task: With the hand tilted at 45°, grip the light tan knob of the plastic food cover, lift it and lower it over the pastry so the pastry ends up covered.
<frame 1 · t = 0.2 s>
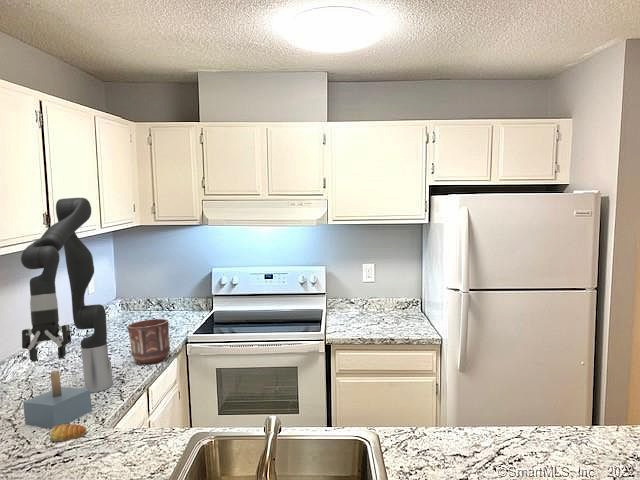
hand: (48, 359, 148), 22 cm above the counter, tool pointing down, fingers open, 8 cm apart
pastry: (67, 437, 142), on the counter
cover: (59, 417, 157), on the counter
pottery: (151, 361, 218), on the counter
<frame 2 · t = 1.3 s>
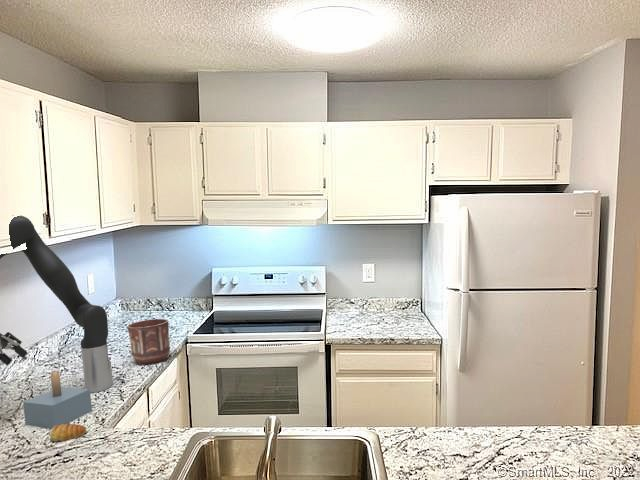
hand: (18, 359, 156), 21 cm above the counter, tool tilted 45°, fingers open, 8 cm apart
nothing on the counter moved.
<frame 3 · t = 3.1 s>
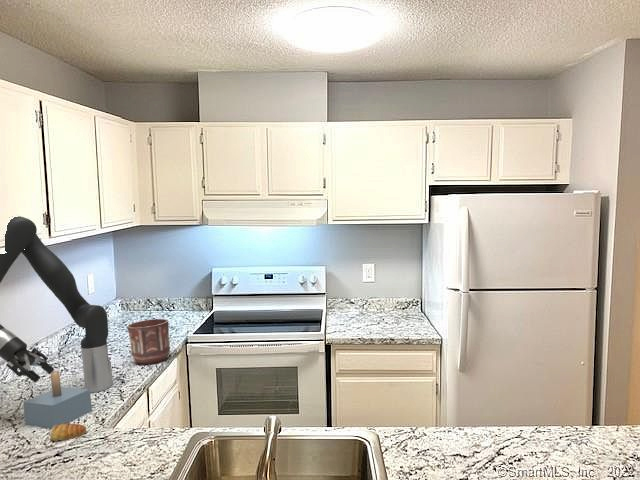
hand: (45, 375, 156), 15 cm above the counter, tool tilted 45°, fingers open, 8 cm apart
nothing on the counter moved.
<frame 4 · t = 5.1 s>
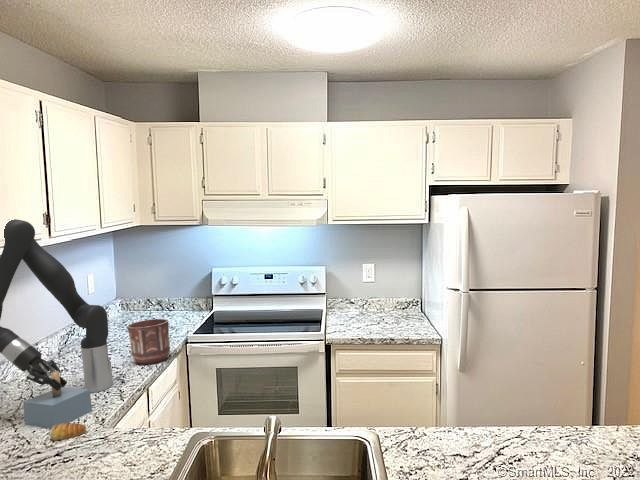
hand: (62, 386, 157), 10 cm above the counter, tool tilted 45°, fingers closed on cover, 2 cm apart
cover: (59, 417, 157), on the counter, touching gripper
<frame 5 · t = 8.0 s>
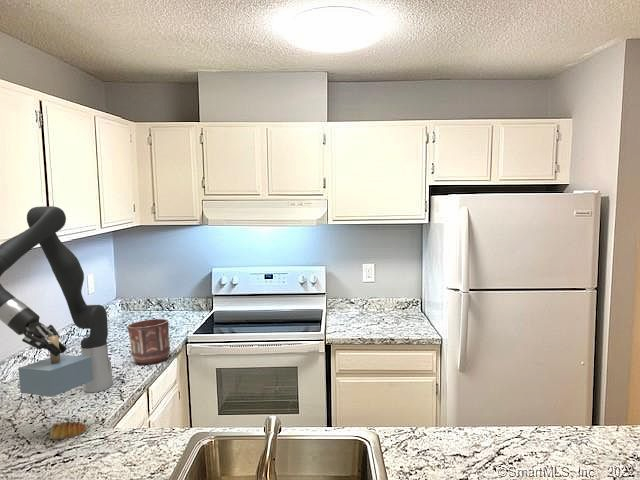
hand: (61, 352, 143), 25 cm above the counter, tool tilted 45°, fingers closed on cover, 2 cm apart
cover: (57, 386, 144), point 15 cm above the counter, touching gripper
when the fingers open (12 cm above the counter, at t = 11.2 s): cover stays where it is, point 1 cm above the counter.
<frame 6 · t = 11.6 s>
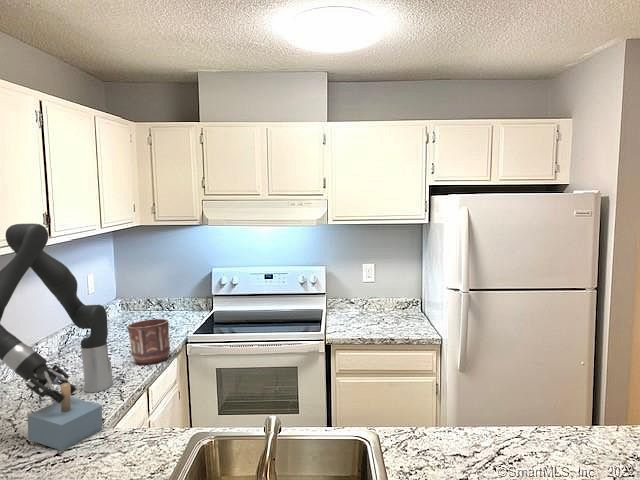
hand: (68, 395, 141), 12 cm above the counter, tool tilted 45°, fingers open, 6 cm apart
cover: (66, 434, 141), point 1 cm above the counter, tilted 7°
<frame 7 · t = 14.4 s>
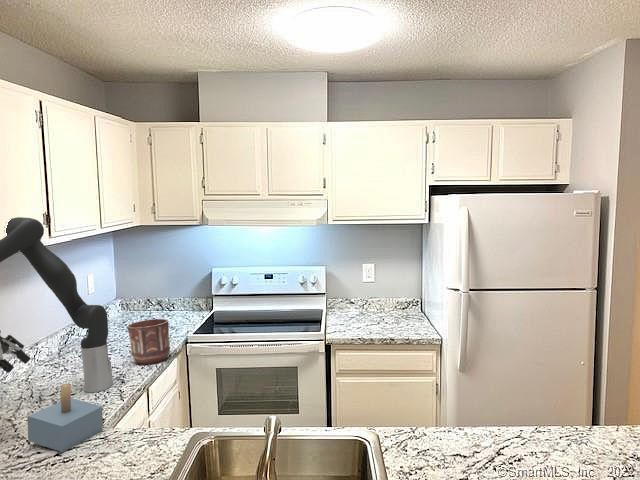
hand: (20, 365, 141), 23 cm above the counter, tool tilted 45°, fingers open, 8 cm apart
pastry: (65, 436, 142), on the counter
cover: (66, 435, 140), point 1 cm above the counter, tilted 7°
everything else where it was.
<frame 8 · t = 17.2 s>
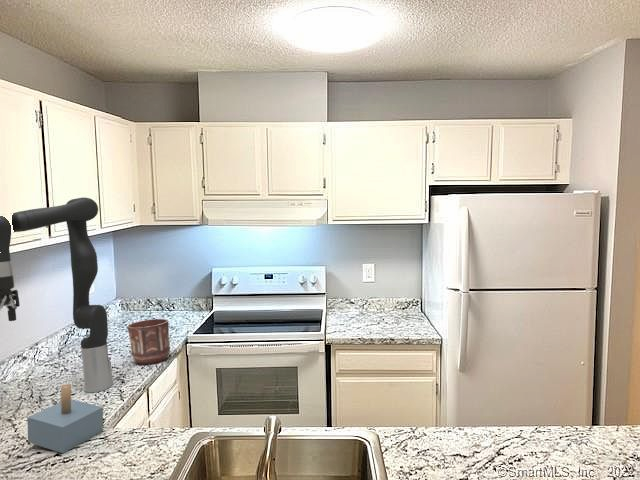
hand: (4, 323, 157), 33 cm above the counter, tool pointing down, fingers open, 8 cm apart
pastry: (64, 438, 141), on the counter
at the end: cover 2.4 cm from the pastry (horizontally); cover point 0.9 cm above the counter; the gripper is holding nothing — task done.
